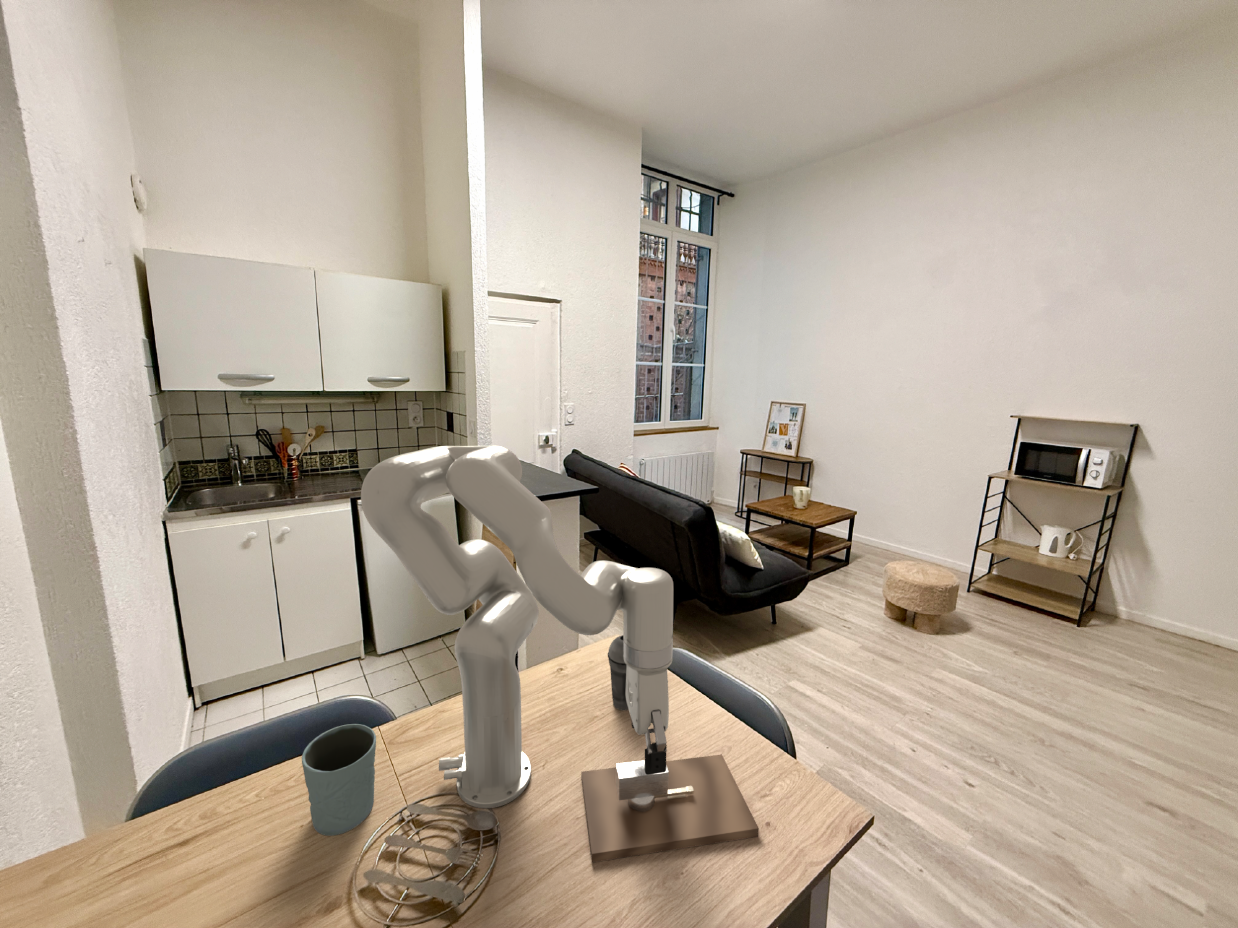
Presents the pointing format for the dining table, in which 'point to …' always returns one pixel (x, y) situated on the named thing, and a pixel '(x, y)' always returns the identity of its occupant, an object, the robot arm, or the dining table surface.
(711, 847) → the dining table surface
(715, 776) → the board
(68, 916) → the dining table surface
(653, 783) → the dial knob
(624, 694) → the beverage cup
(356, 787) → the blue-grey open cylinder
